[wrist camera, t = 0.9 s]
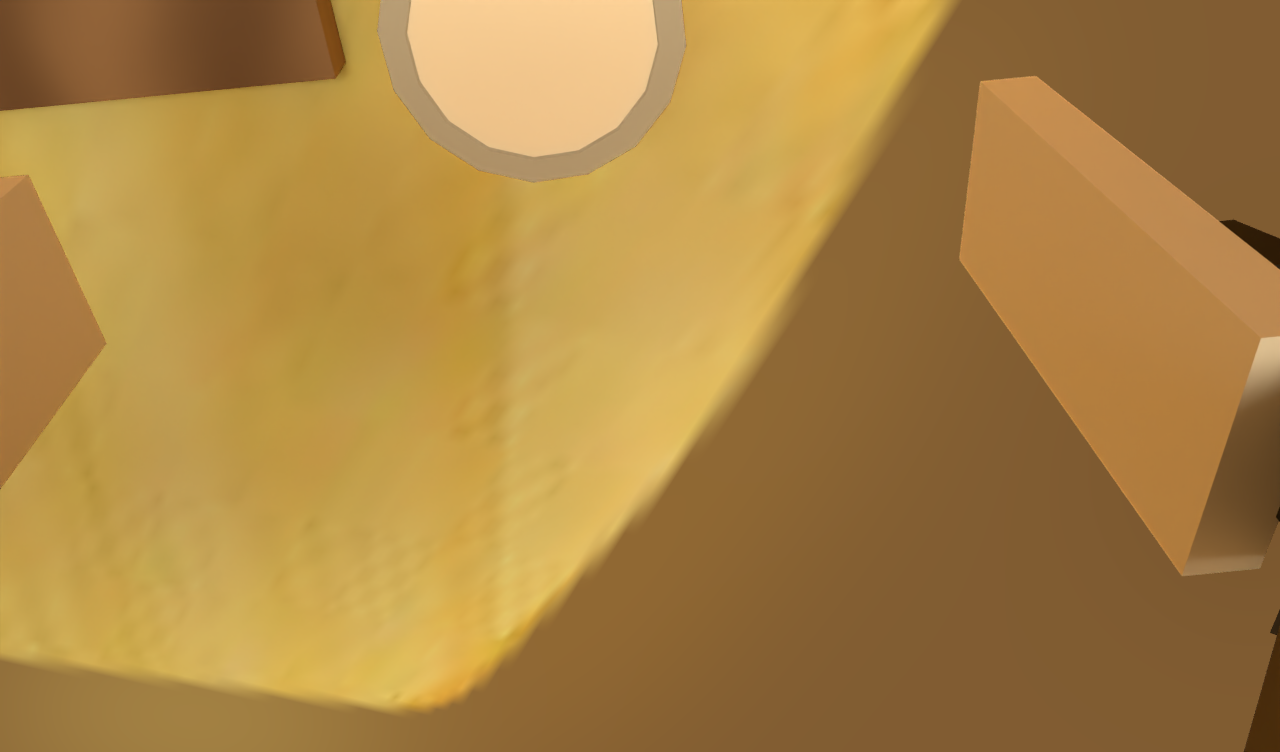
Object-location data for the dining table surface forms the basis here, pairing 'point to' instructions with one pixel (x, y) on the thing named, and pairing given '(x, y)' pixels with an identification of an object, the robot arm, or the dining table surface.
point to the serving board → (159, 47)
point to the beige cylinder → (534, 77)
